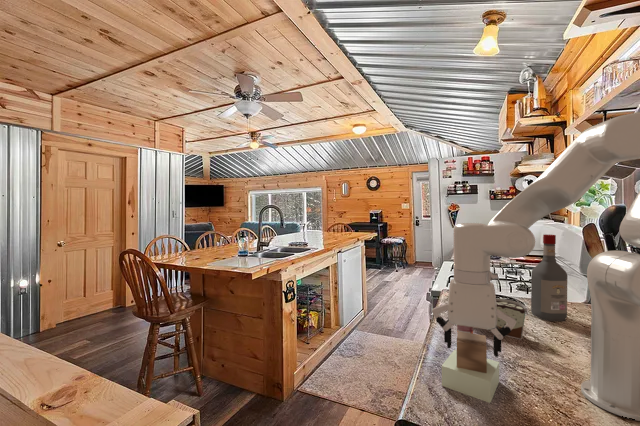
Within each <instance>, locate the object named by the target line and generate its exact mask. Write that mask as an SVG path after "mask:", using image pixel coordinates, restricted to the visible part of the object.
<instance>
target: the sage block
mask: <svg viewBox="0 0 640 426" xmlns="http://www.w3.org/2000/svg"><path fill="white" fill-rule="evenodd" d="M499 383H500V361H496V360H493V359H489V358H487V373H482V372H477V371H472V370H467V369H462V368H458V367H457V349H453V351H452V352H451V353H450V355H449V356H448V357H447V358H446V360H445V361H444V362H443V363H442V365H441V387H444V388H447V389H450V390H453V391H455V392H458V393H461V394H464V395H466V396H469V397H471V398H475V399H478V400H479V401H480V400H481V401H484V402H486V403H488V404H492V400H493V398H494V396H495V393H496V390H497V387H498V385H499Z"/></svg>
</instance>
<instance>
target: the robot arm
mask: <svg viewBox="0 0 640 426" xmlns="http://www.w3.org/2000/svg"><path fill="white" fill-rule="evenodd" d="M639 159H640V111H639V112H634V113H633V112H632V113H627V114H623V115H619V116H618V115H617V116H616V117H612V118H609V119H608V120H605V121H602V122H599V123H598V124H595V125H592V126H590V127H588V128H586V129H584V131H582V132H581V133H580V134H579V135H578V136H577V137H576V138H575V139H574V140H573V141H572V142H570V144H569V145H568V146H567V147H566V148H565V149H564V150H563V151H562V152H561V154H560V155H558V156H557V157H556V159H554V161H553V162H551V164H550V165H549V166H548V167H547V168H546V169H545V170H544V171H543V172H542V173H541V174H540V175H539V176H538V177H537V178H536V179H535V180H534V181H532V182H531V183H530V184H529V185H527V186H526V187H525V188H524V189H523V190H521V192H519V193H518V194H517V195H516V196H514V197H513V198H512V199H511V200H510V201H509V202H508V203H507V204H505V205H504V206H503V208H501V210H499V211H498V213H496V215H495V216H494V217H493V218H492V219H491V220H490V221H489V222H488V224H485V223H479V222H464V223H463V222H462V223H461V222H460V223H457V224H456V225H455V226H454V228H453V279H450V281H449V282H450V283H449V289H448V297H447V303H445V304H441V305H438V306H436V307H434V308H432V309H431V313H432V315H433V316H434V317H433V318H434V319H435V320H436V323H438V325H439V326H440V327H441V328H442V330H443V331H444V334H443V335H444V338H443V339H444V340H443V341H444V343H445V344H447V346H446V347H447V349H451V347H452V327H453V326H454V325H456V326H457V325H460V326H467V327H473V329H474V328H475V329H481V330H482V329H483V330H487V331H488V330H491V331H492V332H493V333H492V332H491V333H492V335H493V342H492V343H493V356H494V357H495V358H498V357H499V353H502V340H503V339H504V338H505V337H507V336H506V335H507V334H509V333H510V332H511V330H512V329H513V327H514V326H515V324H516V320H515V319H514V318H512V317H510V316H509V315H507V314H505V313H503V312H502V311H500V310H498V309H497V304H496V299H497V294H496V289H495V284H494V283H493V281H494V280H495V281H496V280H497V281H498V280H499V279H498V273H494V272H493V271H491V256H497V257H503V258H509V259H510V258H511V259H517V258H522V257H525V256H527V255H529V254H530V253H531V252H532V251H533V250H534V249H535V246H536V237H535V235H534V233H533V232H532V231H531V230H530V228H531V227H532V226H533V225H534V224H535V223H537V222H538V221H540V220H541V219H542V218H544V217H546V216H548V215H550V214H551V213H552V214H553V213H555V212H558V211H560V210H562V209H563V210H564V209H565V208H567V207H569V206H571V205H573V204H575V203H576V202H578V201H579V200H581V198H582V197H583V196H584V195H585V194H586V193H587V192H588V191H589V190H590V189H591V188H592V187H593V186H594V185H595V184H596V183H597V182H598V181H599V180H600V179H601V178H602V177H603V176H604V175H605V174H606V173H608V171H609V170H610V169H611V168H613V166H615V164H618V163H621V162H626V161H627V162H628V161H633V160H639ZM619 235H620V237H621V238H622V240H623V241H624V242H626V243H627V244H629V245H630V246H632V247H635V248H639V249H640V190H639V191H638V193H637V194H636V197H635V199H634V200H633V201H632V204H631V205H630V207H629V208H628V210H627V211H626V213H625V215H624V217H623V219H622V221H621V222H620V225H619ZM586 277H587V285H588V289H589V295H590V296H589V297H590V305H591V310H590V311H591V321H590V322H591V324H590V379H587V380H584V381H582V382H581V384H580V390H581V394H583V396H584V397H585V398H586V399H587V400H589V402H591V403H593V404H594V405H595V406H598V407H599V408H600V409H603V410H605V411H607V412H610V413H612V414H613V415H616V416H620V417H622V416H623V418H625V417H627V418H626V419H629V418H633V419H635V420H634V421H636V422H637V421H638V422H640V253H635V252H630V251H627V250H625V251H624V250H606V251H603V252H601V253H598V254H597V255H595V256H594V257H593V258H592V259H591V260H590V261H589V263H588V265H587V270H586ZM446 311H447V319H446V320H445V319H444V318H443V317H442V316H441V313H444V312H446ZM497 317H499V318H501V319H502V320H504V321H506V322H507V323H506V325H505V326H503V327H502V328H501V329H499V328H498V326H497Z"/></svg>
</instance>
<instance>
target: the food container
mask: <svg viewBox="0 0 640 426" xmlns="http://www.w3.org/2000/svg"><path fill="white" fill-rule="evenodd" d="M496 304H497V309H498V310H500V311H502V312H503V313H505V314H507V315H509V316H510V317H512V318H514V319H515V320H516V324H515V326H514V327H513V329H512V330H511V332H510V333H509V334H507V335H506V336H505V337H508V338H513V339H517V340H523V333H524V325H525V319H526V316H529V314H528V309H527V307H526V305H524V304H523V303H521V302H518V301H514V300H511V299H504V298H496ZM506 323H507V322H506V321H504V320H502V319H501V318H499V317H497V326H498V328H499V329H501V328H502V327H503V326H505V325H506ZM487 332H489V333H492V334H493V332H492V331H491V330H488V329H487Z"/></svg>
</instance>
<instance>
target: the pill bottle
mask: <svg viewBox="0 0 640 426" xmlns="http://www.w3.org/2000/svg"><path fill="white" fill-rule="evenodd" d="M458 331H459V332H465V333H472V334H474V328H473V327H467V326H460V325H456V334H457V333H458Z"/></svg>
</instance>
